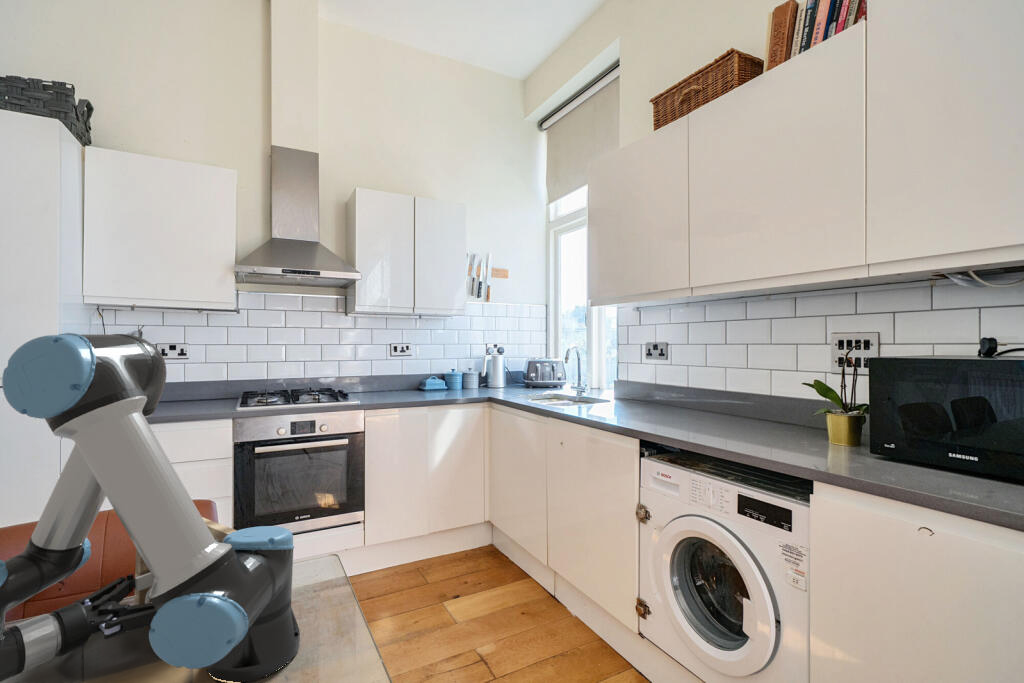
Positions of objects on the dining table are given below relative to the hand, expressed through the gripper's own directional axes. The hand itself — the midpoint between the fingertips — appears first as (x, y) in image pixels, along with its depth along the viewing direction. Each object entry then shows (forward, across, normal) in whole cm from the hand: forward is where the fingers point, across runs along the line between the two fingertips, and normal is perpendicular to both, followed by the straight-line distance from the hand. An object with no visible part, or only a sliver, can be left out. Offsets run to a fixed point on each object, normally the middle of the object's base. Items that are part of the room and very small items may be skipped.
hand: (188, 579), depth 98 cm
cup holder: (0, 0, -7) cm, 7 cm away
